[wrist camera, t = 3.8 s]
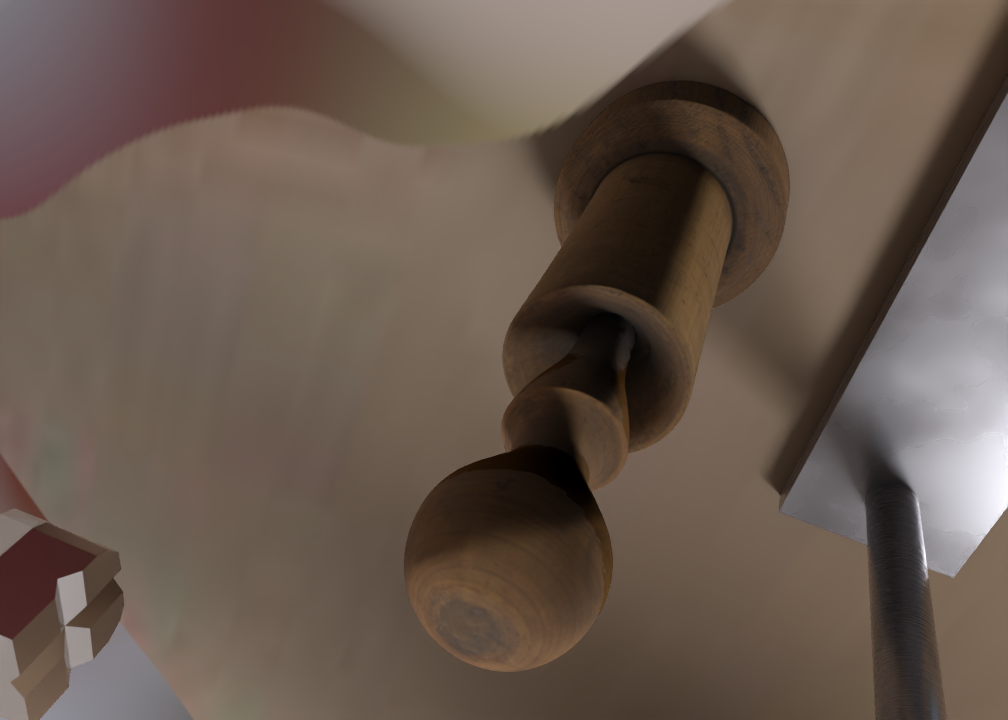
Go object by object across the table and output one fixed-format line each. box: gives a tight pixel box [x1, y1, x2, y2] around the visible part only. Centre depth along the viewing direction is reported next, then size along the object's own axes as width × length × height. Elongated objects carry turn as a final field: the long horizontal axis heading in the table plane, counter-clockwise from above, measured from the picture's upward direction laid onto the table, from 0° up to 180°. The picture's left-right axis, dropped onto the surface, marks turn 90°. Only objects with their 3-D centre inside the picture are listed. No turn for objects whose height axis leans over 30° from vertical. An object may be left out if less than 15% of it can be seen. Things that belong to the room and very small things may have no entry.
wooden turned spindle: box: [404, 81, 790, 672], centre depth 19 cm, size 7×6×18 cm
